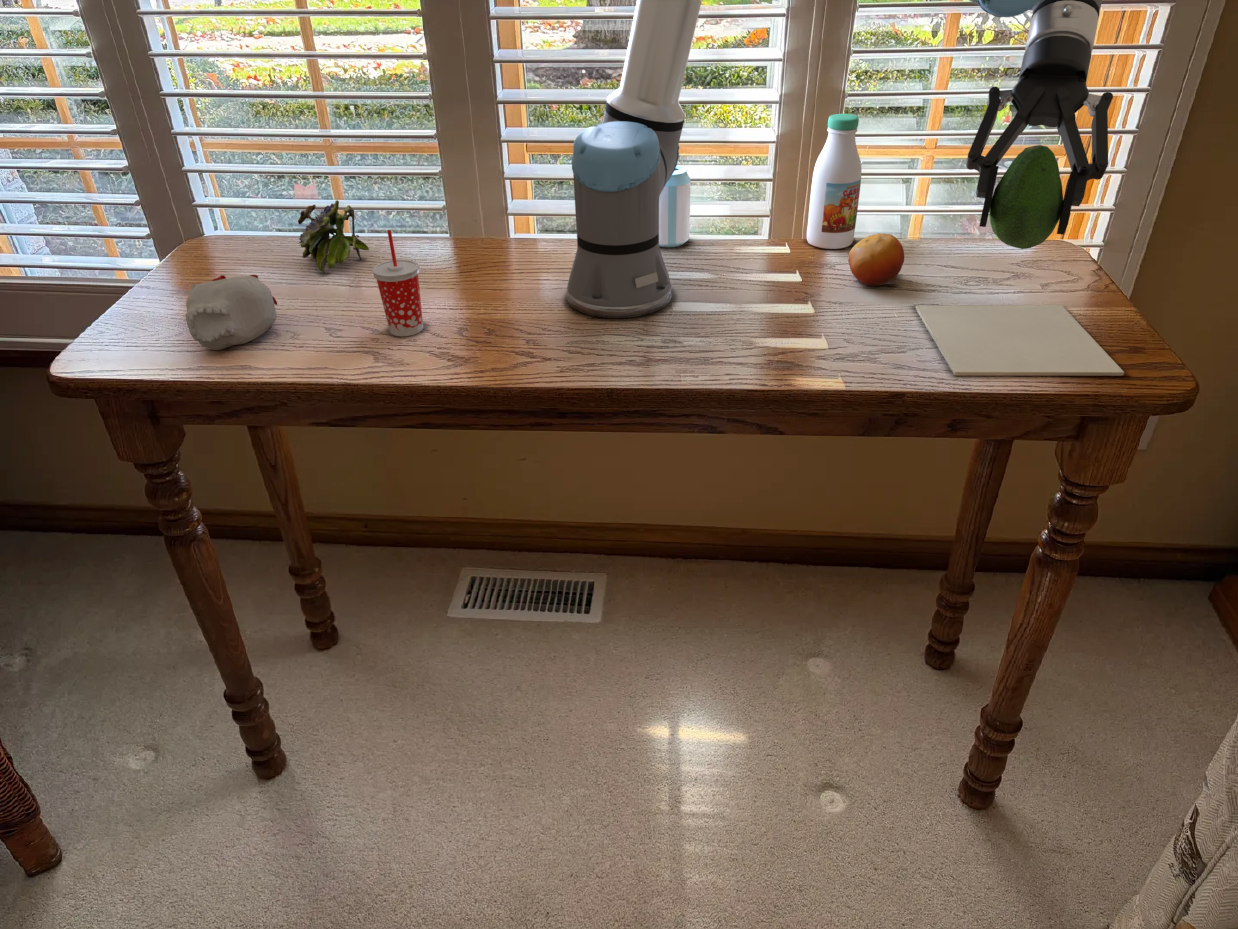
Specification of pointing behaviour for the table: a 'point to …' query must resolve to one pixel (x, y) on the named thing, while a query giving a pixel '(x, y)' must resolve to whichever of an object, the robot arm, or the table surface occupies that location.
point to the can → (675, 209)
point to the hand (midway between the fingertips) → (1022, 224)
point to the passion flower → (318, 236)
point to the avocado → (1027, 199)
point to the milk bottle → (835, 186)
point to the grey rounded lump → (229, 311)
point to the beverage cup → (400, 293)
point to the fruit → (876, 259)
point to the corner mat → (1015, 341)
